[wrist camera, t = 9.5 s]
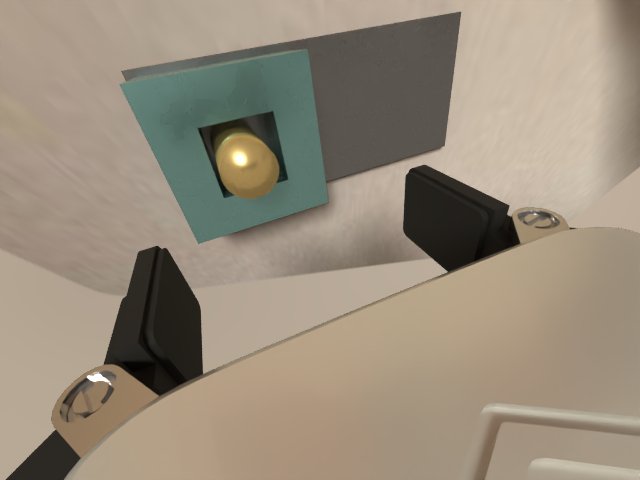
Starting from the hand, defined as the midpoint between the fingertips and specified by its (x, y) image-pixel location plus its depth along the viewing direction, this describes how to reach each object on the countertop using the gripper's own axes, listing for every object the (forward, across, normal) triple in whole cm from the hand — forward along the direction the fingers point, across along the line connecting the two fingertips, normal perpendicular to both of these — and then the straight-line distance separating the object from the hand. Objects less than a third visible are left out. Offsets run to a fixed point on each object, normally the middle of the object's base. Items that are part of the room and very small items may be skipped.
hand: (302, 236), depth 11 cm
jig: (+18, -8, 0) cm, 19 cm away
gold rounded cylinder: (+16, +1, 0) cm, 17 cm away
